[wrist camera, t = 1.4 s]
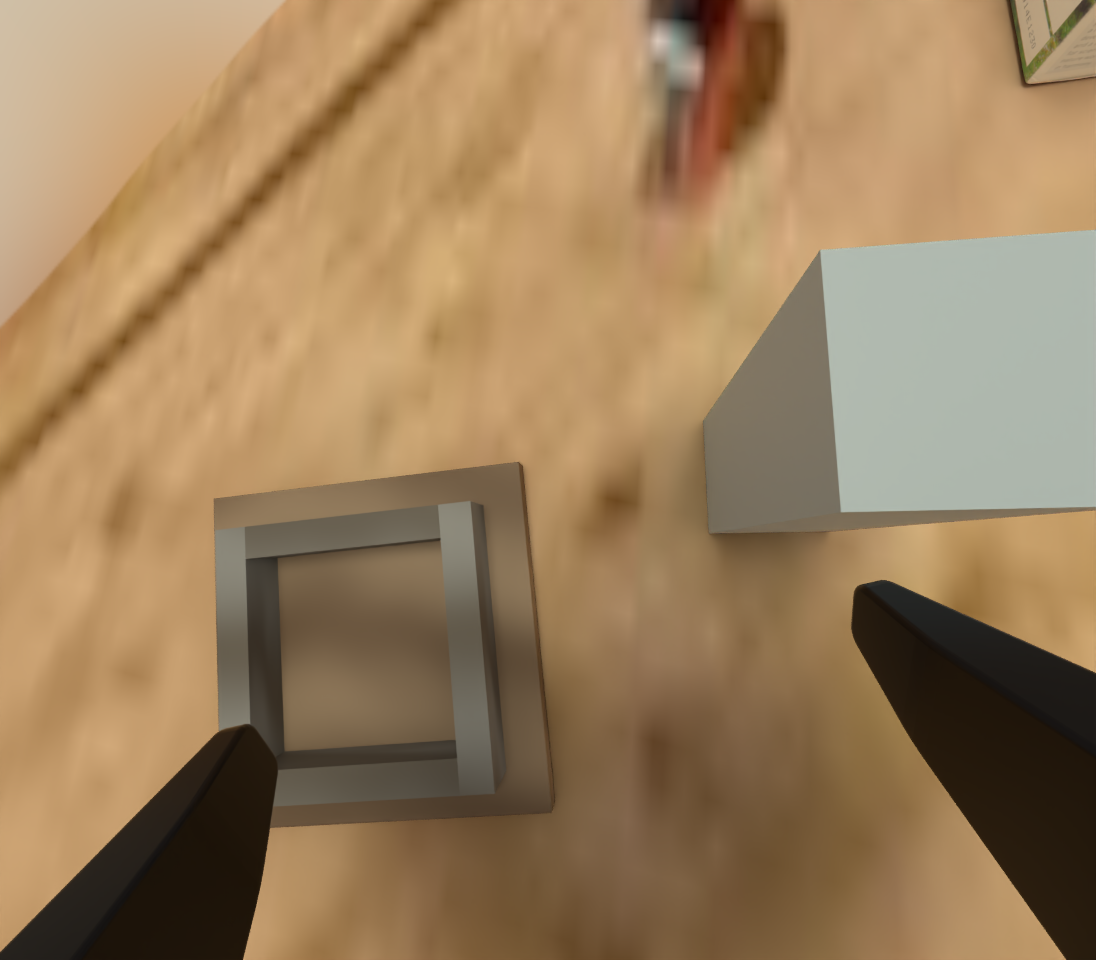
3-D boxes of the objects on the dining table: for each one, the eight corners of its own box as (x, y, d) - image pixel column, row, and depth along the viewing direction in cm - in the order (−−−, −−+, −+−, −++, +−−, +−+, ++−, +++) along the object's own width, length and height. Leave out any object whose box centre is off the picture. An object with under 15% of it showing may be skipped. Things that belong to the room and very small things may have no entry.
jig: (554, 800, 21) (545, 841, 18) (238, 818, 23) (181, 858, 20) (522, 465, 23) (508, 453, 20) (230, 500, 24) (177, 494, 21)
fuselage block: (829, 531, 21) (1152, 505, 8) (708, 533, 22) (840, 512, 9) (820, 416, 22) (1111, 228, 9) (703, 420, 22) (820, 249, 10)
